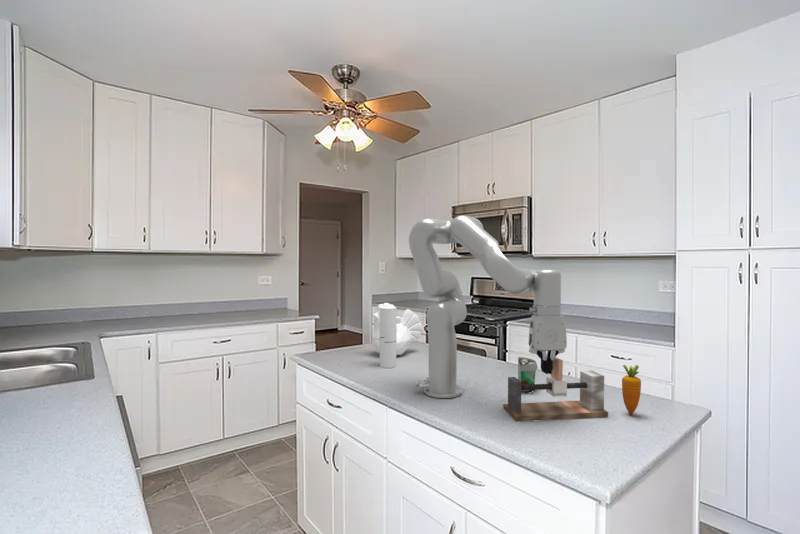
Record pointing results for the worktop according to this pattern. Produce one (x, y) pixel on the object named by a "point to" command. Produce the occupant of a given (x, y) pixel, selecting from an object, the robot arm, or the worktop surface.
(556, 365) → the sleeve
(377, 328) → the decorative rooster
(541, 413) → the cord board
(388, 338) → the cylindrical container
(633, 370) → the carrot
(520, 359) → the food container
